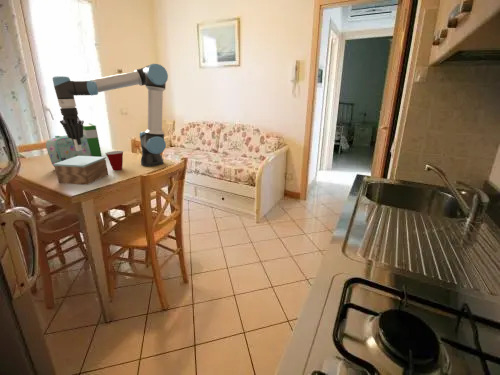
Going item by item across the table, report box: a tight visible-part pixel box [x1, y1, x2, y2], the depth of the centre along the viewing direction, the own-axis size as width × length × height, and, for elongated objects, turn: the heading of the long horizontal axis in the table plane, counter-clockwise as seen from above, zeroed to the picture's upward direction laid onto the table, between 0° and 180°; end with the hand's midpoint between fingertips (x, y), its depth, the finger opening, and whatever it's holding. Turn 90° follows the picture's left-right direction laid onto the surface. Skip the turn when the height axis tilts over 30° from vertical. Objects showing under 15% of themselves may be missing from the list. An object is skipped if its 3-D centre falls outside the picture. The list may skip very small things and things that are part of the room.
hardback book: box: [83, 122, 103, 157], centre depth 204 cm, size 18×7×24 cm, turn 43°
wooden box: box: [53, 159, 109, 186], centre depth 152 cm, size 18×18×10 cm
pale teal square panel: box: [52, 156, 107, 167], centre depth 150 cm, size 19×18×1 cm
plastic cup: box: [105, 150, 124, 171], centre depth 170 cm, size 11×11×12 cm
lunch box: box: [45, 134, 91, 166], centre depth 177 cm, size 27×10×21 cm, turn 168°
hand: (79, 150), depth 148 cm, fingers closed
